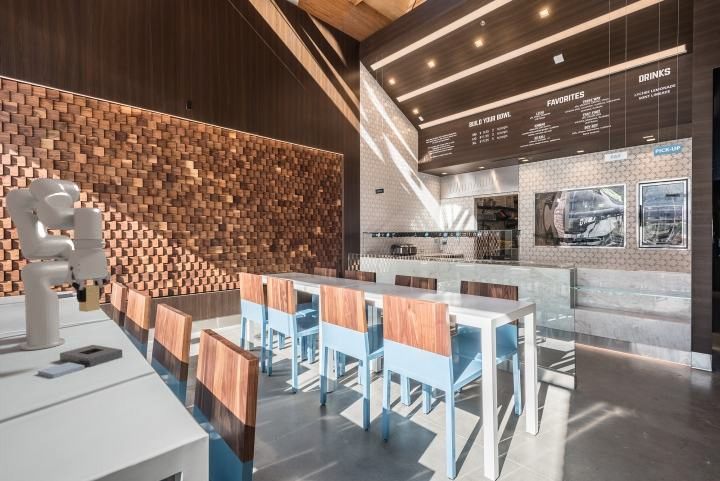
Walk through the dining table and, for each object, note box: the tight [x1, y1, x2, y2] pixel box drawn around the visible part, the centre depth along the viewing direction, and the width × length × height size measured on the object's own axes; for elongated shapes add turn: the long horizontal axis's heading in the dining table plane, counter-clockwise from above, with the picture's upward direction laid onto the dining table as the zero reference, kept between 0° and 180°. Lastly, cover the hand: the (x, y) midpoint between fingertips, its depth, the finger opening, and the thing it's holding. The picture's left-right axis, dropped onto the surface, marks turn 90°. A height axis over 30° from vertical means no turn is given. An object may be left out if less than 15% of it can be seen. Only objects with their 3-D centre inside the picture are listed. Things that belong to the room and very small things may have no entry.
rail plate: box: [59, 344, 123, 368], centre depth 121 cm, size 16×10×2 cm, turn 66°
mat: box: [37, 362, 85, 379], centre depth 110 cm, size 8×8×1 cm
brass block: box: [78, 284, 101, 313], centre depth 121 cm, size 4×4×8 cm
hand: (89, 300), depth 121 cm, fingers closed on brass block, 4 cm apart
